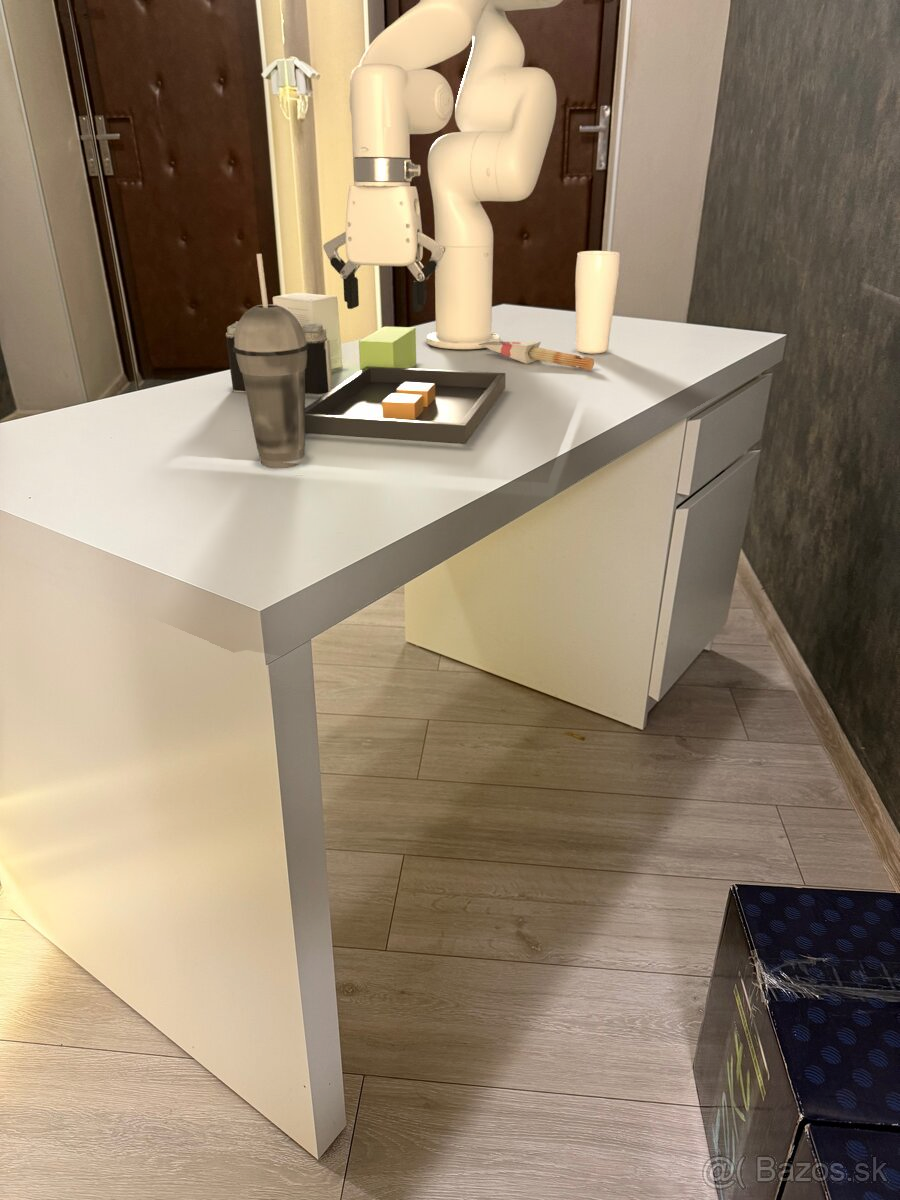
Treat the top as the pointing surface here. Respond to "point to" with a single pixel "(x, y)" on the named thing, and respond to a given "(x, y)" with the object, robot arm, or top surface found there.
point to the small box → (316, 317)
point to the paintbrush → (538, 354)
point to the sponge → (389, 348)
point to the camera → (316, 367)
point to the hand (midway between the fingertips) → (385, 309)
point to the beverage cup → (273, 378)
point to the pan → (442, 421)
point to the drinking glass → (595, 299)
